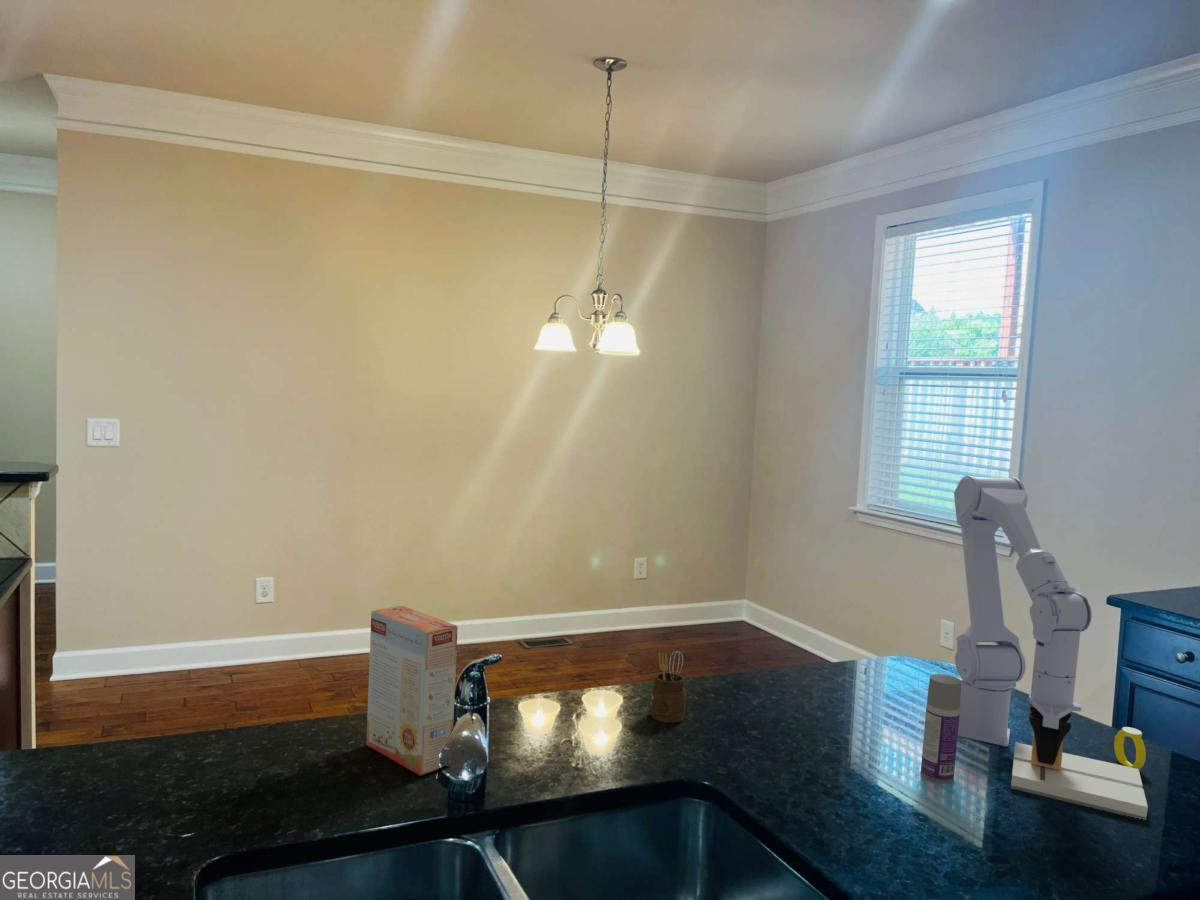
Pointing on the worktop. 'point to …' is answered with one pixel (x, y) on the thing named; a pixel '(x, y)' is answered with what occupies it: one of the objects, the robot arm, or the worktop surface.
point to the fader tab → (1035, 761)
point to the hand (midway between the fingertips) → (1045, 758)
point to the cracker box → (411, 686)
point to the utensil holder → (668, 694)
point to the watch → (1139, 747)
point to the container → (941, 728)
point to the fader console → (1082, 782)
